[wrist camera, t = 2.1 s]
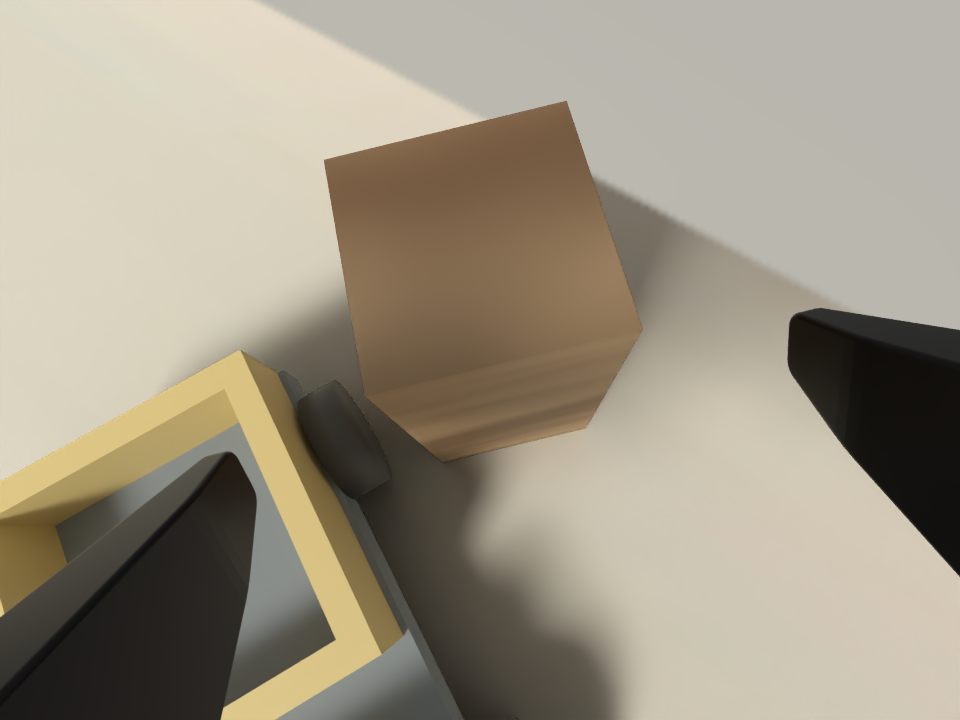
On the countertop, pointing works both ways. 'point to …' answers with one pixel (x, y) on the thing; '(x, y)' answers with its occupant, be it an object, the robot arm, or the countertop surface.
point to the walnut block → (482, 282)
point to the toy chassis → (277, 538)
